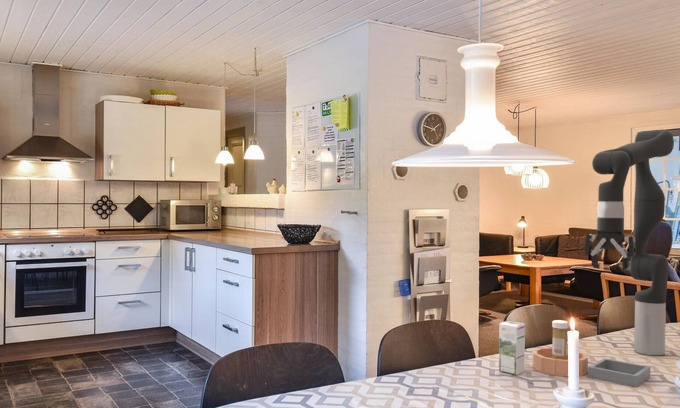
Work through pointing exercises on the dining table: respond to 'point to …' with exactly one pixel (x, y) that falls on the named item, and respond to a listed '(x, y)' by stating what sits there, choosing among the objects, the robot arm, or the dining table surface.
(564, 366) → the bowl
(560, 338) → the sprinkles bottle
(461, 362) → the dining table surface
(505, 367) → the syrup box
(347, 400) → the dining table surface
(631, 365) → the gray square frame
